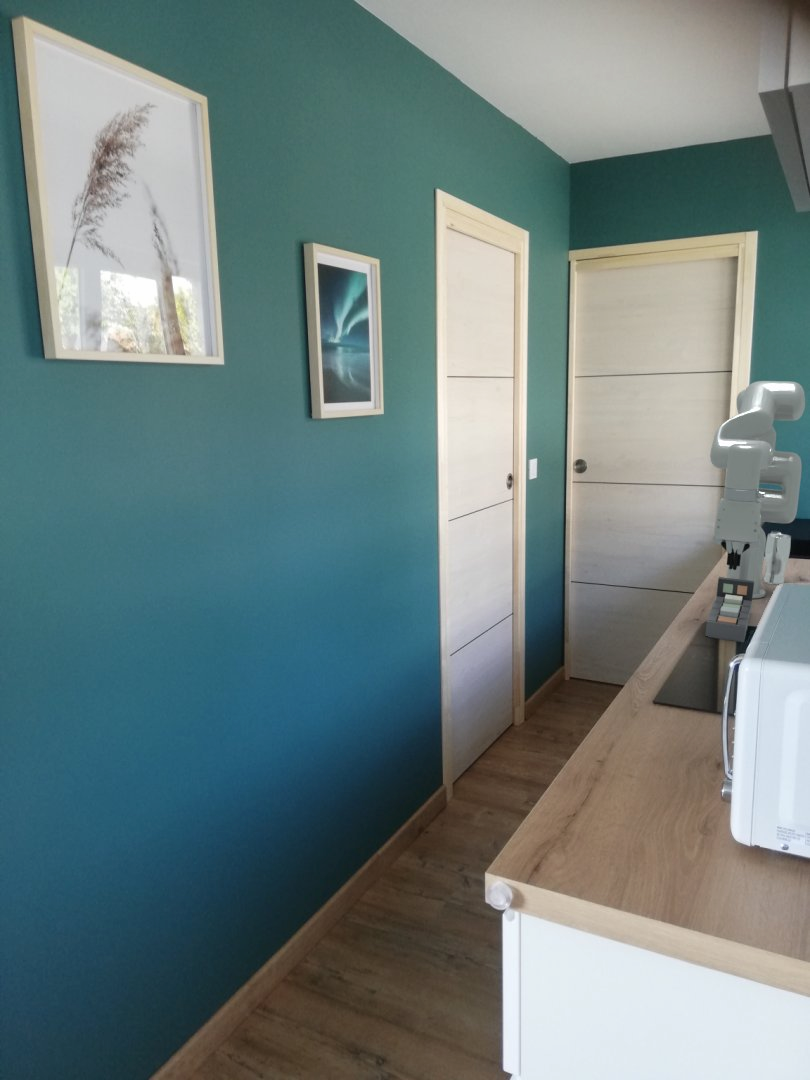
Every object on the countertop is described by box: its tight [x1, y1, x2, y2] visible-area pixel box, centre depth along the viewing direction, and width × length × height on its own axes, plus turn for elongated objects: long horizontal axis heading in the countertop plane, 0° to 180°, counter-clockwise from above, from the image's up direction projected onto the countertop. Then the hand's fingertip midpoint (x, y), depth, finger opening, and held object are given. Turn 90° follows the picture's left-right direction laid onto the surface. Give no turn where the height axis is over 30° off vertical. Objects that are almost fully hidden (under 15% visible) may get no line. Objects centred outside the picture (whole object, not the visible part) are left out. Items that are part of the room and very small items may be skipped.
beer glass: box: [762, 533, 792, 586], centre depth 250 cm, size 7×7×15 cm
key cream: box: [724, 594, 743, 605], centre depth 217 cm, size 4×4×2 cm
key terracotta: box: [717, 616, 737, 624], centre depth 200 cm, size 4×4×2 cm
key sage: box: [723, 603, 741, 611], centre depth 211 cm, size 4×4×2 cm
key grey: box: [720, 606, 739, 618], centre depth 206 cm, size 4×4×2 cm
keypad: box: [704, 576, 754, 643], centre depth 209 cm, size 27×9×9 cm, turn 154°
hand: (732, 568), depth 198 cm, fingers closed
